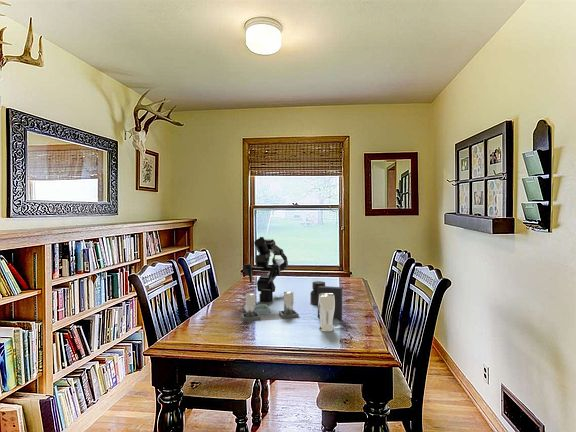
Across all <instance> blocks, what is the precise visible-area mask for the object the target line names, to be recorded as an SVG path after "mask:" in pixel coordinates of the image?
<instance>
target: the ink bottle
mask: <svg viewBox="0 0 576 432" xmlns="http://www.w3.org/2000/svg"><path fill="white" fill-rule="evenodd" d="M311 285H312V287H311V288H312V290H311V291H310V292H309V293H310V294H309V295H310V303H309V304H310V305H315V306H318V296H317V288H318V287H319V286H326V282H325V281H321V280H317V281H316V280H315V281H312V284H311Z"/></svg>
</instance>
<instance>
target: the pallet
mask: <svg viewBox="0 0 576 432" xmlns="http://www.w3.org/2000/svg"><path fill="white" fill-rule="evenodd" d="M239 319H240V321H241V323H250V322H262V321H277V320H279V321H280V320H290V319H292V320H293V319H301V317H300V314H299V313H298V312H297V311H296V310H295V309H293V314H287V315H284V310H278V313H269V314H258V312H256V317H246V312H244V313H243V312H242V313H240V315H239Z"/></svg>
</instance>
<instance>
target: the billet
mask: <svg viewBox="0 0 576 432" xmlns="http://www.w3.org/2000/svg"><path fill="white" fill-rule="evenodd" d="M293 310H294V292H293V291H289V290H288V291H284V292H283V311H284V315H287V314H293Z"/></svg>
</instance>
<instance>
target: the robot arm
mask: <svg viewBox="0 0 576 432" xmlns="http://www.w3.org/2000/svg"><path fill="white" fill-rule="evenodd" d="M253 244H254V247H255V248H256V250H257V253H259V254H256V255H255V266H253V264H252V263H244V265H243V268H242V269H243V272H244V274H245V275H246V276H248V278H249V279H248V280H249V283H250V284H251V283H252V281H253V273H254V272H267V274H266V273H265V274H264V273H263V274H261V275H260V276H259V278H258V280H257V281H256V287H257V292H259V302H260V303H271V302H273V301H274V300H273V298H274V297H273V293H274V292H276V285H275V282H274V280H275V279H276V278H277V277H278V276H280V274H281V272H282V271H286V270H287V268H288V265H289V264H288V263H289V262H288V261H289V260H288V256H287V255H286V254H285V253H284V249H282V248H280V247H279V246H278V245H277V244H276V241H275V240H274V239H267V238H266V239H265V237H264V236H260V237H259V238H257V239H256V240H255V241H254V243H253ZM271 253H272V254H273V257H272V260H271V262H272V264H271V266H269V262H270V257H271ZM276 256H280V257H281V258H282V259H281V258H280V259H279V258H276Z"/></svg>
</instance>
